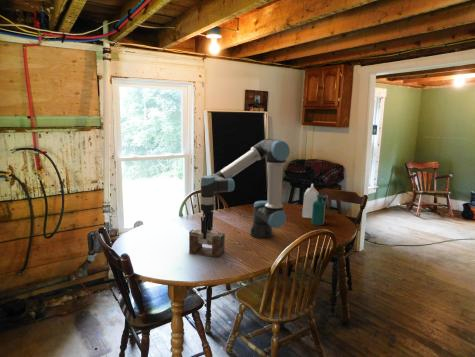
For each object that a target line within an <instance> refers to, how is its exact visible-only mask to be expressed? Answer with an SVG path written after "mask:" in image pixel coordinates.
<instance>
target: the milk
mask: <svg viewBox="0 0 475 357" xmlns="http://www.w3.org/2000/svg"><path fill="white" fill-rule="evenodd" d="M316 195H320V194H319V191H318V190H317V189H316V188H315V186H314V183H311V184H310V187H307V189H306V190H305V192H304V194H303V204H302V211H301V212H302V213H301V217H302V218H307V219H312V210H313V203H314V201H316V200H317V196H316Z"/></svg>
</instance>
